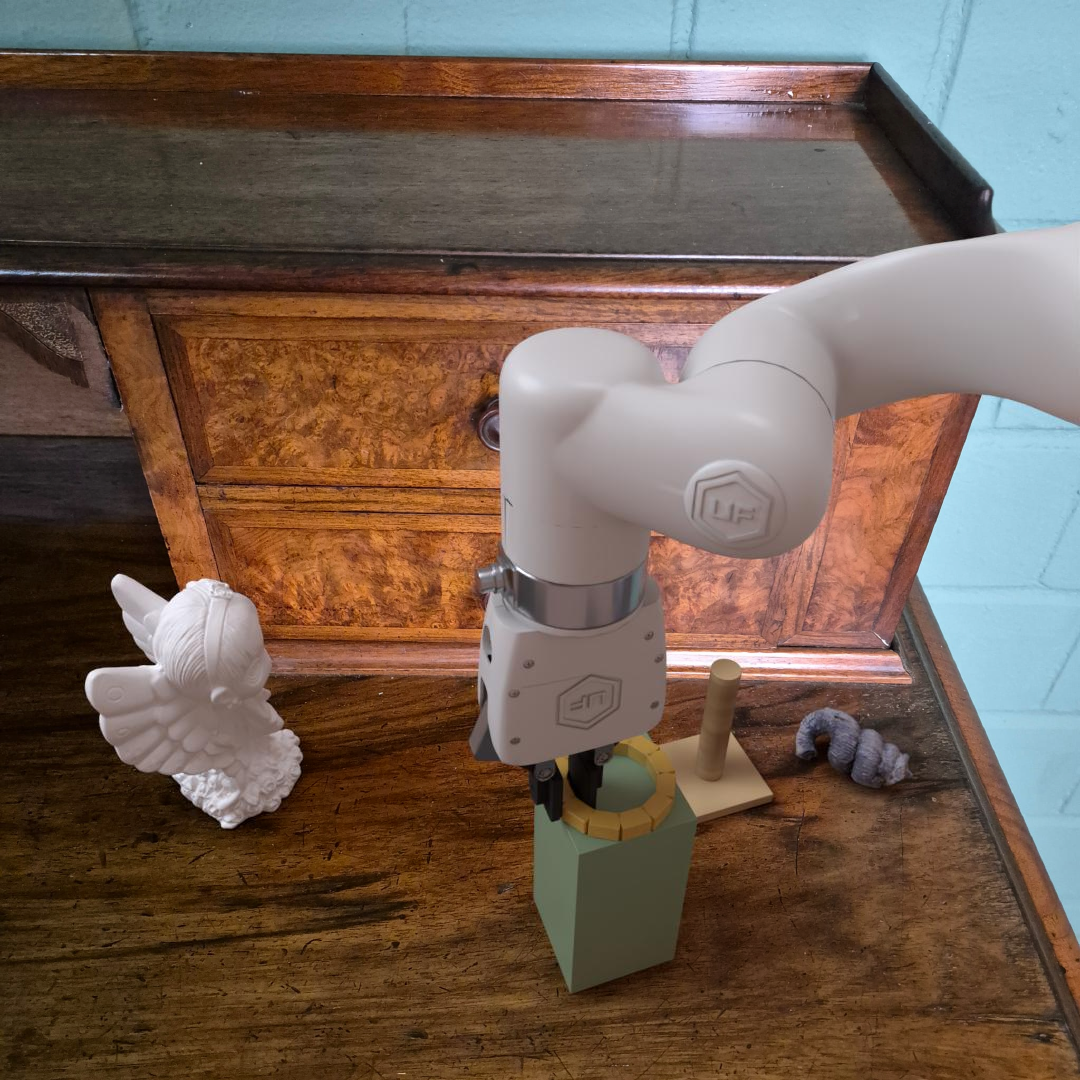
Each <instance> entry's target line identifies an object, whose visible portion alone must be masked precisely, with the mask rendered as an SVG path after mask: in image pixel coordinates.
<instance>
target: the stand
mask: <svg viewBox="0 0 1080 1080" xmlns="http://www.w3.org/2000/svg"><path fill="white" fill-rule="evenodd" d="M641 736H643V737H645V738H646V739H648V740H650V741H651V742H653V740H652V738H651V737H650V734H649V733H648V732H646V733H644V734H641ZM568 782H569V785H570V787H571V789H572V791H573V793H574V795H575V797H576V798H577V796H576V794H575V792H574V790H573V788H572V785H571V783H570V781H569V779H568ZM655 787H656V784H655V783H654V781H653V779H652V777H651V775H650V774H649V772H648V770H647V768H646V767H644V766H643V765H641V764H639V763H638V762H636V761H635V760H633V759H631V758H630V757H628V756H624V755H617V754H613V757H612V759H611V761H609V762H608V763H607V764H605V765H604V766H603V779H602V787H601V788H597V798H596V809H595V810H600V811H607V812H613V813H621V812H625V811H628V810H632V809H635V808H639V807H642V806H643V805H644V803H645V802H646V801H647V800H648V799H649V798H650V797H651V796H652V795H653V794H654V793H655ZM533 811H534V813H533V814H534V816H533V817H534V819H533V820H534V821H533V822H534V823H533V826H534V827H533V892H532V893H533V894H532V895H533V897H532V898H533V901H534V903H535V906H536V909H537V911H538V914H539V916H540V919H541V921H542V925H543V926H544V929H545V931H546V934H547V937H548V939H549V942H550V944H551V947H552V951H553V953H554V955H555V957H556V960H557V963H558V965H559V968H560V971H561V974H562V976H563V978H564V981H565V983H566V986H567V988H568V991H569V994H570V995H572V994H576V993H579V992H581V991H584V990H587V989H589V988H593V987H595V986H599V985H601V984H605V983H608V982H611V981H613V980H616V979H619V978H621V977H622V978H623V977H625V976H628V975H631V974H634V973H637V972H639V971H640V972H641V971H643V970H645V969H649V968H651V967H654V966H657V965H660V964H663V963H667V962H669V961H672V960H674V959H675V953H676V947H677V942H678V936H679V930H680V924H681V918H682V913H683V907H684V902H685V896H686V890H687V884H688V878H689V873H690V868H691V867H690V866H691V861H692V855H693V849H694V843H695V838H696V832H697V827H698V824H697V821H698V818H697V817H696V815H695V813H694V812H693V810H692V808H691V807H690V805H689V803H688V801H687V800H686V798H685V796H684V795H683V793H682V791H681V790H680V788H679V786H678V784H677V783H676V782H675V793H674V802H673V808H671V812H670V813H669V814H668V816H667V817H666V818H665V819H664V820H663V821H662V822H661V823H660V824H659V825H658V827H657V828H656V829H655V830H652V829H651V832H650V833H648V834H645V835H641V836H638V837H635V838H632V839H628V840H625V841H622V839H621V837H620V835H619V840H618V841H614V840H607V839H601V838H595V837H589V836H588V831H587V832H586V833H585V834H582V833H581V832H580V831H578V830H577V829H575V828H574V827H572V826H571V825H570V824H568V823H567V822H565V821H564V820H563V819H561V817H560V820H558V821H555V822H551V821H550V819H549V817H548V814H547V812H546V810H545V808H544V805H543V804H541V805H537V806H536V805H535V804H534V810H533Z"/></svg>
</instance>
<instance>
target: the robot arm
mask: <svg viewBox="0 0 1080 1080" xmlns="http://www.w3.org/2000/svg"><path fill="white" fill-rule="evenodd" d="M501 367H502V368H501V370H500V373H499V374H500V375H499V381H498V417H499V418H498V419H499V420H498V421H499V422H498V423H499V427H498V428H499V429H498V430H499V477H500V479H499V482H500V483H499V484H500V485H499V486H500V528H501V529H500V531H501V532H500V533H501V534H500V535H501V536H500V537H501V539H500V540H499V541H497V555H495V557H494V558H495V559H494V562H489V563H488V564H487V566H484V567H479V568H475V569H474V582H475V585H476V589H477V592H478V594H479V595H484V594H489V593H490V594H489V596H488V599H487V600H488V601H487V605H486V608H485V613H484V618H483V622H482V623H483V624H482V628H481V635H480V637H481V638H480V644H479V655H478V667H477V668H478V669H477V671H478V672H477V701H478V708H479V711H480V712H479V715H478V717H477V719H476V722H475V724H474V727H473V729H472V731H471V733H470V736H469V738H468V741H467V743H468V745H469V748H470V750H471V751H470V752H471V753H472V756H473V758H474V760H475V761H476V762H502V763H503V764H505V765H509V766H516V767H519V768H521V769H524V770H526V771H528V789H529V793H530V795H531V798H532V801H533V804H534V806H535V805H536V806H537V805H541V804H543V805H544V808H545V810H546V812H547V814H548V817H549V819H550V821H551V822H555V821H558V820H560V817H562V809H563V784H564V781H563V777H562V774H561V772H560V770H559V768H558V766H557V763H556V761H555V759H556V758H560V757H564V756H568V770H569V771H568V779H569V781H570V783H571V785H572V788H573V790H574V792H575V794H576V796H577V798H578V799H579V800H581V801H582V802H584V803H585V804H587V805H588V806H590V807H591V808H593V809H594V810H595V809H596V798H597V788H601V787H602V779H603V766H604V765H605V764H607V763H608V762H609V761H611V759H612V757H613V750H614V747H615V746H616V745H617V744H618V743H619V742H620V741H623V740H626V739H630V738H633V737H636V736H639V735H641V734H644V733H646V732H647V733H648V732H649V731H651V730H652V729H654V728H656V727H657V726H658V724H659V723H660V722H661V720H662V717H663V716H664V715H663V714H664V710H665V704H666V695H667V673H668V672H667V670H668V669H667V664H668V663H667V659H668V657H667V656H668V655H667V639H666V637H667V636H666V623H665V614H664V607H663V602H662V594H661V590H660V586H659V584H658V582H657V581H656V579H655V578H654V577H653V576H652V575H651V574H650V573H649V572H648V566H649V557H650V555H649V554H650V546H651V537H652V536H651V534H652V532H654V533H657V534H659V535H662V536H664V537H666V538H669V539H671V540H674V541H677V542H678V543H682V544H684V545H686V546H689V547H692V548H695V549H698V550H701V551H704V552H706V553H710V554H713V555H718V556H721V557H725V558H731V559H739V560H752V561H753V560H766V559H771V558H775V557H778V556H779V557H780V556H781V555H785V554H787V553H788V552H789V553H790V552H791V551H793V550H795V549H796V548H798V547H799V546H801V545H802V544H804V543H805V542H806V541H807V540H808V539H809V538H810V537H811V536H812V535H813V534H814V533H815V531H816V530H817V528H818V527H820V524H821V522H822V521H823V518H824V516H825V514H826V513H827V509H828V505H829V503H830V499H831V498H830V497H831V491H832V487H833V486H832V485H833V472H834V471H833V470H834V469H833V467H834V443H835V429H836V428H835V427H836V421H837V420H841V419H844V418H846V417H850V416H854V415H856V414H857V415H858V414H860V413H863V412H866V411H869V410H872V409H876V408H879V407H883V406H886V405H887V406H888V405H890V404H895V403H898V402H903V401H906V400H911V399H917V398H922V397H929V396H937V395H939V396H940V395H949V394H951V395H952V394H953V395H954V394H957V395H958V394H961V395H962V394H963V395H964V394H969V395H970V394H971V395H980V396H989V397H990V396H991V397H996V398H1000V399H1004V400H1010V401H1013V402H1017V403H1018V404H1019V403H1020V404H1023V405H1025V406H1028V407H1031V408H1034V409H1035V410H1038V411H1040V412H1042V413H1046V414H1048V415H1050V416H1053V417H1055V418H1057V419H1060V420H1062V421H1065V422H1067V423H1070V424H1073V425H1075V426H1077V427H1080V220H1077V221H1074V222H1072V223H1067V224H1063V225H1059V226H1052V227H1045V228H1035V229H1023V230H1014V231H1008V232H1001V233H996V234H991V235H985V236H979V237H972V238H966V239H959V240H953V241H946V242H945V241H944V242H938V243H937V242H936V243H931V244H930V243H929V244H923V245H919V246H913V247H908V248H904V249H903V248H902V249H900V250H895V251H890V252H887V253H883V254H882V253H881V254H879V255H875V256H871V257H868V258H865V259H861V260H859V261H856V262H853V263H850V264H847V265H845V266H842V267H839V268H835V269H833V270H830V271H827V272H825V273H822V274H819V275H817V276H814V277H812V278H809V279H807V280H804V281H801V282H799V283H796V284H793V285H790V286H788V287H786V288H782V289H780V290H777V291H775V292H772V293H769V294H767V295H765V296H762V297H760V298H758V299H757V298H756V299H755V300H753V301H750V302H748V303H746V304H744V305H742V306H740V307H738V308H736V309H734V310H733V311H731V312H729V313H728V314H725V316H723V317H722V318H720V319H719V320H718V321H716V322H715V323H714V324H712V325H711V326H709V328H707V330H706V331H705V332H704V333H703V334H702V335H701V336H700V337H699V338H698V340H696V342H695V343H694V345H693V347H692V348H691V349H690V351H689V354H688V356H687V358H686V360H685V362H684V364H683V367H682V370H681V372H680V375H679V377H678V380H677V383H672V382H670V381H668V380H667V379H666V378H665V376H664V371H663V368H662V366H661V364H660V362H659V360H658V358H657V356H656V355H655V353H654V352H652V350H651V348H649V347H648V346H646V345H645V344H644V343H642V342H640V341H639V340H638V339H636V338H634V337H631V336H629V335H627V334H624V333H621V332H618V331H616V330H615V331H614V330H611V329H604V328H597V327H588V326H586V327H585V326H573V327H562V328H561V327H560V328H554V329H549V330H544V331H542V332H541V331H540V332H537V333H535V334H533V335H531V336H529V337H527V338H526V339H524V340H522V341H521V342H519V343H518V344H517V345H515V346H514V347H513V349H511V351H510V352H509V354H508V355H507V356H506V357H505V360H504V361H503V364H502V366H501Z"/></svg>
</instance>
